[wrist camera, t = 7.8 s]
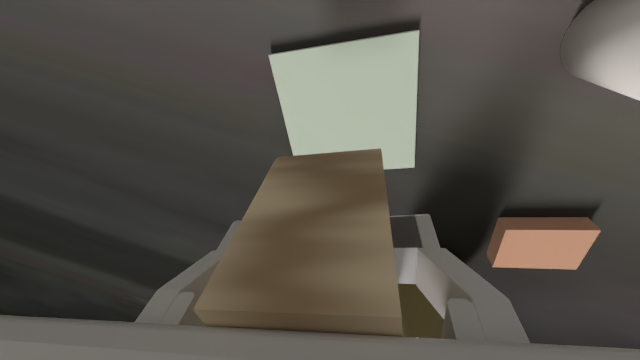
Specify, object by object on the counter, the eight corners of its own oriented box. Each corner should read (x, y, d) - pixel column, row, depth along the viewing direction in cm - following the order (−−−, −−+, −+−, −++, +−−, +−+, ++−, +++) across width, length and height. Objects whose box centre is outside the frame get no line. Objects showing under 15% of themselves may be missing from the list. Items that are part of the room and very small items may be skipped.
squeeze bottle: (466, 232, 26) (601, 543, 11) (472, 283, 30) (578, 562, 15) (383, 245, 28) (403, 512, 14) (399, 290, 32) (428, 535, 18)
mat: (417, 29, 17) (419, 30, 16) (413, 163, 22) (414, 167, 22) (271, 53, 19) (268, 55, 19) (299, 171, 24) (298, 174, 24)
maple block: (381, 148, 11) (401, 317, 5) (384, 229, 13) (401, 405, 7) (276, 157, 12) (193, 308, 6) (297, 231, 14) (253, 390, 8)
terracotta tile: (584, 213, 23) (600, 230, 22) (562, 252, 26) (576, 269, 24) (496, 214, 25) (505, 229, 23) (484, 251, 27) (492, 267, 26)
